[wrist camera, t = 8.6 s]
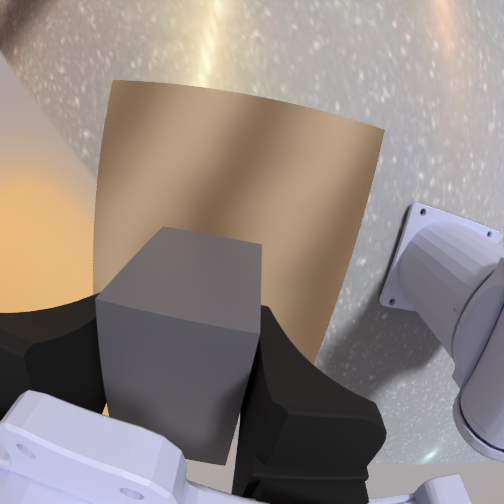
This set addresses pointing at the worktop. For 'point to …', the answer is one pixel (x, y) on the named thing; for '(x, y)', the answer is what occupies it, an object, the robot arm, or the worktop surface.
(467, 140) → the worktop surface
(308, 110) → the wooden tan block
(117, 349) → the grey upright cuboid
